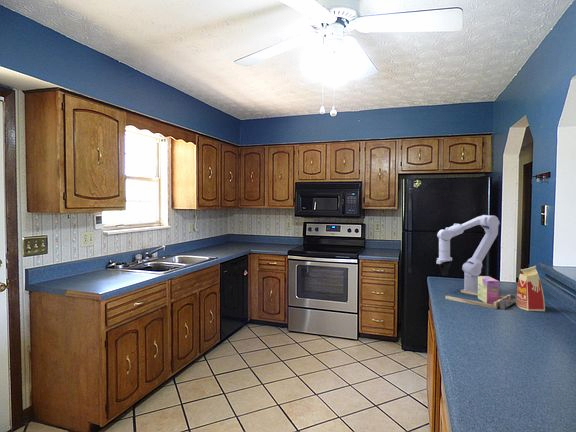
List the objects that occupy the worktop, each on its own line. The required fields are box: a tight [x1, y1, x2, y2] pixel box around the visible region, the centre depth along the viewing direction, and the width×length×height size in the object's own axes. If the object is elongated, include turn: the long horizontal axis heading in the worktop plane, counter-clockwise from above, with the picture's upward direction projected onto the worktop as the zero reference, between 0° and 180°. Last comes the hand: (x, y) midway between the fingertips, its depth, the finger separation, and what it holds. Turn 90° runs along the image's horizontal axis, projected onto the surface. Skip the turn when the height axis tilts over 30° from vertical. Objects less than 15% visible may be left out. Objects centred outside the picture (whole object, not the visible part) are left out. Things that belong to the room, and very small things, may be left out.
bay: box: [445, 289, 517, 311], centre depth 178 cm, size 19×28×4 cm
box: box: [477, 275, 500, 305], centre depth 176 cm, size 10×6×12 cm, turn 174°
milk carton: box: [515, 265, 546, 312], centre depth 164 cm, size 9×9×20 cm
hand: (444, 275), depth 196 cm, fingers closed
